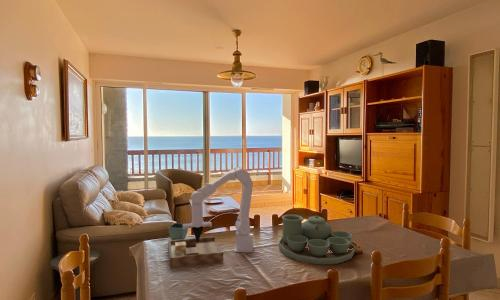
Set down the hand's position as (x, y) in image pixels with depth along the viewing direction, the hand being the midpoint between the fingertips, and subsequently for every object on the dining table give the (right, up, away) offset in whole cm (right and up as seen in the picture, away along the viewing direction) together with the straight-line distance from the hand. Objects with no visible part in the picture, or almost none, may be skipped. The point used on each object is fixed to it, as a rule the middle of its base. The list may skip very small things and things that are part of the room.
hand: (197, 241), depth 159 cm
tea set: (+63, -7, +8) cm, 64 cm away
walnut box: (-1, -7, 0) cm, 7 cm away
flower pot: (-14, -6, +20) cm, 26 cm away
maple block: (-8, -5, -2) cm, 10 cm away
